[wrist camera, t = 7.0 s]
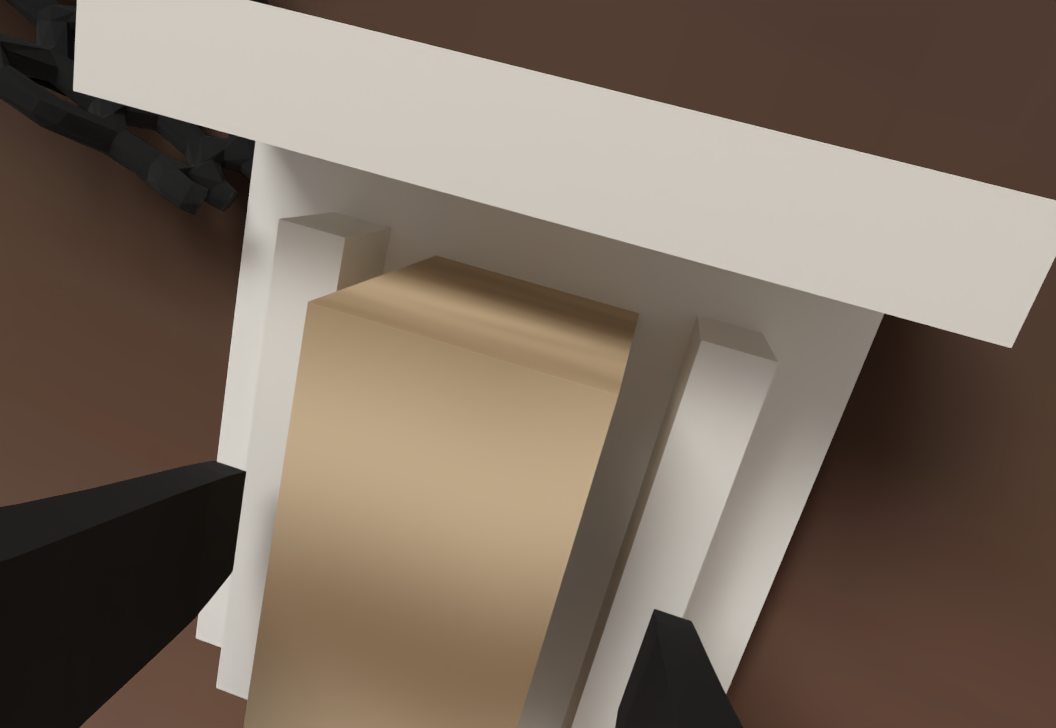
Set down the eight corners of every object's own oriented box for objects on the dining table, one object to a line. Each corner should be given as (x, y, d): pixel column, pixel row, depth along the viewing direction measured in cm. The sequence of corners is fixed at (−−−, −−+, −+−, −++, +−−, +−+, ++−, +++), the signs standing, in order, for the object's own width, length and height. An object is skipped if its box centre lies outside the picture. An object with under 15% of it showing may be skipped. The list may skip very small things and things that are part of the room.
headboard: (675, 786, 17) (675, 1046, 12) (215, 618, 18) (43, 786, 13) (918, 191, 12) (1080, 206, 7) (291, 33, 14) (79, -42, 9)
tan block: (513, 728, 16) (446, 961, 11) (351, 669, 17) (221, 869, 12) (639, 313, 13) (618, 394, 8) (435, 255, 14) (307, 301, 9)
